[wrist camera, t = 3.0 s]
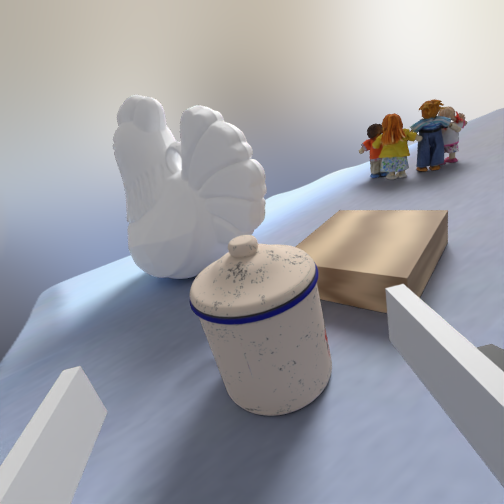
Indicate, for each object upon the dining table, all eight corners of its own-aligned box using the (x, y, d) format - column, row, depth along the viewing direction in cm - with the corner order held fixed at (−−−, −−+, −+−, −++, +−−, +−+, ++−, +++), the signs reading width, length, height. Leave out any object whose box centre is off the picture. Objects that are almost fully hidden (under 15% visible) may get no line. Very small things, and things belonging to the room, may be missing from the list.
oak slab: (447, 242, 36) (447, 210, 35) (409, 318, 27) (407, 278, 25) (342, 236, 45) (339, 210, 43) (285, 291, 35) (278, 261, 34)
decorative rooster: (130, 275, 52) (58, 116, 42) (208, 237, 60) (163, 96, 50) (207, 329, 32) (105, 60, 23) (307, 262, 40) (263, 42, 31)
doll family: (463, 156, 67) (465, 89, 62) (487, 164, 58) (491, 87, 53) (360, 177, 71) (353, 117, 66) (368, 188, 63) (361, 119, 58)
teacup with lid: (361, 366, 23) (341, 222, 19) (268, 449, 19) (213, 293, 15) (266, 309, 33) (238, 205, 29) (191, 358, 29) (144, 246, 24)
